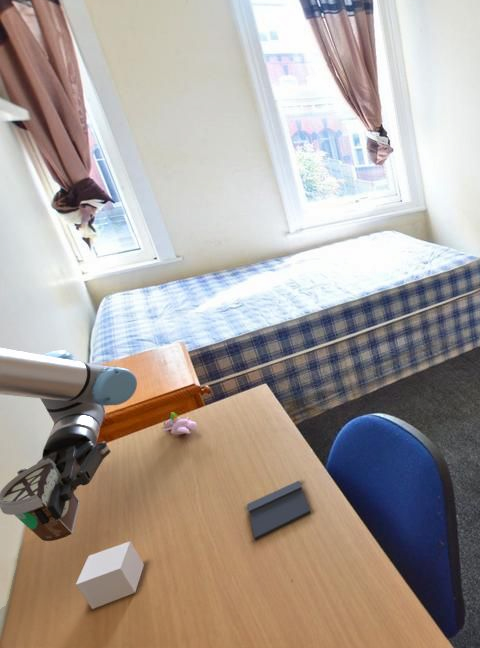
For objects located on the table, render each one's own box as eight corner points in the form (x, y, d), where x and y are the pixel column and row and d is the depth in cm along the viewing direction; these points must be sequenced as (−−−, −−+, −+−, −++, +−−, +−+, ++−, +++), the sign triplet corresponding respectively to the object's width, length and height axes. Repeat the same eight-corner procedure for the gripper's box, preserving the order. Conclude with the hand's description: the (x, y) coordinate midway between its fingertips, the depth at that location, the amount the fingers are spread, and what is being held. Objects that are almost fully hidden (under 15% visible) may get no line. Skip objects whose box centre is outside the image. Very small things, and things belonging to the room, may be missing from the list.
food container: (38, 515, 85) (4, 475, 80) (80, 496, 87) (49, 456, 83) (23, 562, 75) (-17, 519, 71) (71, 539, 78) (35, 496, 74)
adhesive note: (135, 592, 79) (120, 568, 77) (92, 609, 77) (75, 584, 75) (144, 564, 84) (130, 540, 82) (104, 579, 82) (88, 555, 80)
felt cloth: (255, 540, 87) (253, 535, 87) (248, 507, 95) (247, 503, 94) (310, 512, 92) (309, 508, 92) (300, 483, 100) (298, 479, 99)
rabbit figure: (160, 435, 123) (182, 444, 114) (149, 415, 122) (171, 424, 113) (185, 421, 128) (208, 430, 119) (176, 403, 126) (198, 410, 117)
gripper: (122, 442, 99) (111, 510, 80) (36, 472, 92) (1, 555, 74) (107, 412, 96) (91, 477, 77) (16, 442, 89) (-25, 520, 71)
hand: (47, 515), depth 75 cm, fingers closed on food container
